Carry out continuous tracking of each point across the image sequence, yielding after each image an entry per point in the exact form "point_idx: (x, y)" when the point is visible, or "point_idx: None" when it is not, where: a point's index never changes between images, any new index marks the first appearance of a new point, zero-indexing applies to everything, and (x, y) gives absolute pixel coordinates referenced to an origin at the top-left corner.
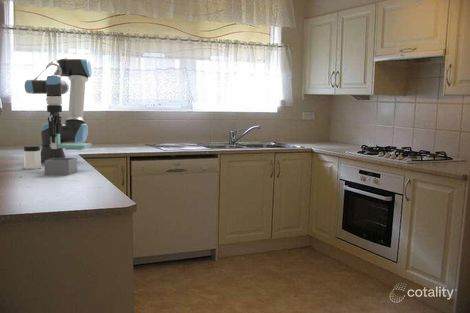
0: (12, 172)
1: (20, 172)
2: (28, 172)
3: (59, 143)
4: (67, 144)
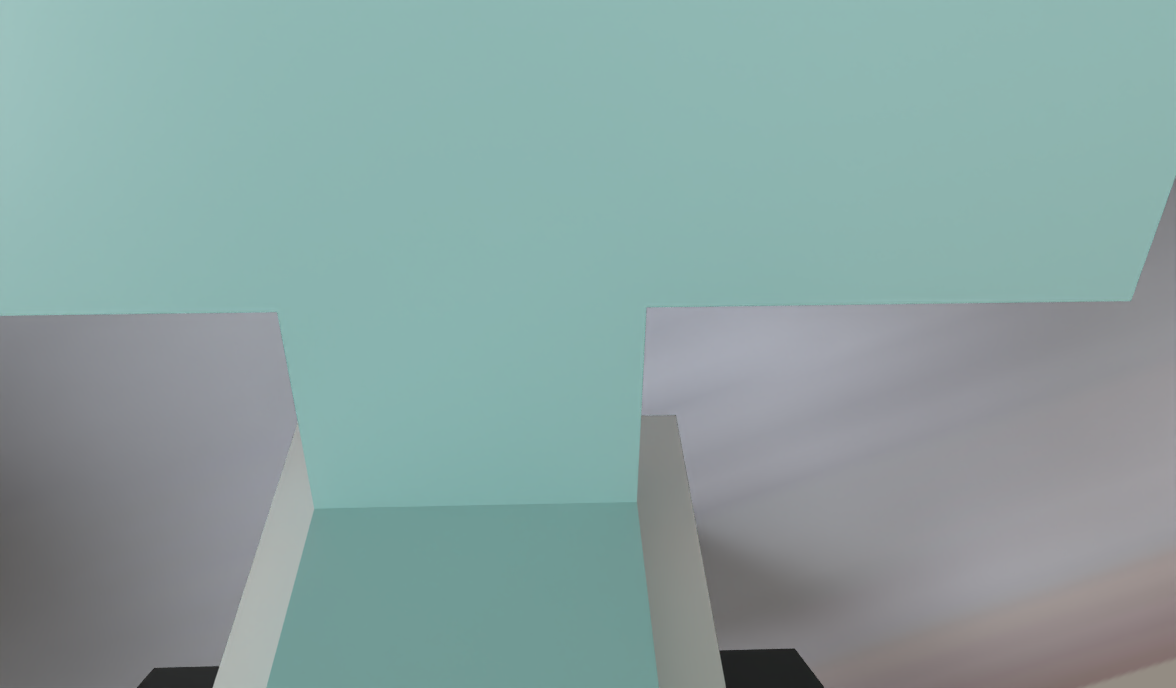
0: (1043, 629)
1: (1066, 541)
2: (1093, 438)
3: (441, 525)
4: (639, 42)
